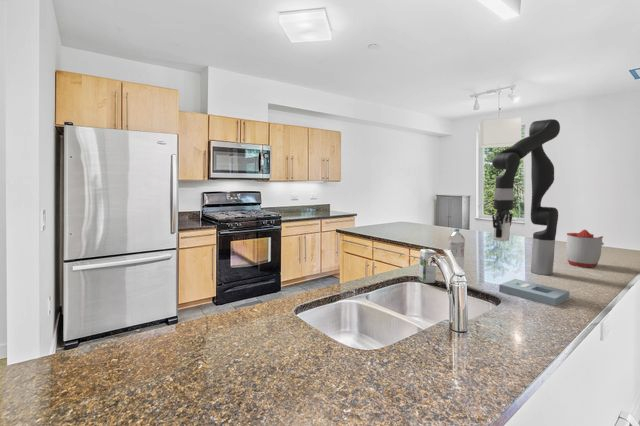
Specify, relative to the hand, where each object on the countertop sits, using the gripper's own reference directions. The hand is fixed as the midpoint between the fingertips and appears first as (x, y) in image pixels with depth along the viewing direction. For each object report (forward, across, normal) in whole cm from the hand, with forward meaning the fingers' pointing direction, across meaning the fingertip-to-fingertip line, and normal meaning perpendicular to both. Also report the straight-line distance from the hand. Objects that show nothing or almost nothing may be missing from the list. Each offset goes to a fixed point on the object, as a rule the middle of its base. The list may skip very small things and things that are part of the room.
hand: (501, 236), depth 147 cm
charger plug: (+2, 0, 0) cm, 2 cm away
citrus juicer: (+22, -71, +11) cm, 75 cm away
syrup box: (+21, +25, -20) cm, 39 cm away
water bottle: (+21, +19, -10) cm, 30 cm away
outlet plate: (+21, +5, +16) cm, 27 cm away
